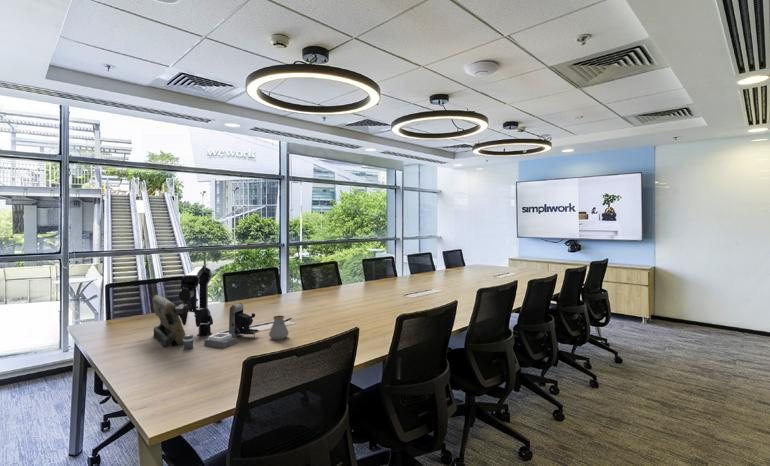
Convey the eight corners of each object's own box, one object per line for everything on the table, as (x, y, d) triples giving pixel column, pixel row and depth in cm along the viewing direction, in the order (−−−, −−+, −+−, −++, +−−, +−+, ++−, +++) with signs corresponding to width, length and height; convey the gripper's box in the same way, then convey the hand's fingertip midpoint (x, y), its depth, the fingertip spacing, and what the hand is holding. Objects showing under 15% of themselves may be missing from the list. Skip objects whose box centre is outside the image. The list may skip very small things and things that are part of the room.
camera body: (204, 345, 222) (204, 336, 222) (217, 340, 232) (217, 331, 231) (223, 348, 217) (223, 339, 217) (236, 343, 226) (236, 334, 226)
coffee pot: (265, 337, 237) (265, 312, 237) (283, 334, 245) (283, 310, 244) (282, 346, 221) (282, 319, 221) (300, 342, 229) (300, 316, 229)
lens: (180, 349, 215) (180, 336, 215) (188, 346, 220) (188, 333, 219) (187, 350, 213) (187, 337, 213) (195, 347, 218) (195, 334, 217)
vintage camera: (251, 341, 231) (253, 307, 231) (227, 338, 234) (229, 305, 234) (260, 336, 241) (261, 304, 240) (237, 334, 244) (238, 302, 243)
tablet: (192, 343, 225) (192, 299, 225) (166, 349, 215) (166, 303, 214) (172, 332, 248) (171, 292, 247) (147, 336, 237) (146, 295, 237)
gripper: (165, 299, 212) (165, 328, 212) (192, 301, 205) (192, 331, 206) (182, 295, 222) (182, 323, 222) (208, 297, 216) (208, 326, 216)
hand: (190, 326), depth 216 cm, fingers open, 9 cm apart
